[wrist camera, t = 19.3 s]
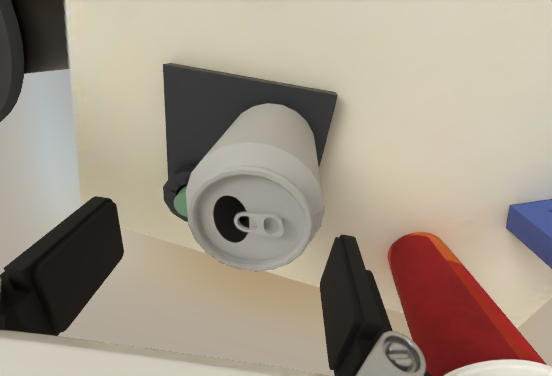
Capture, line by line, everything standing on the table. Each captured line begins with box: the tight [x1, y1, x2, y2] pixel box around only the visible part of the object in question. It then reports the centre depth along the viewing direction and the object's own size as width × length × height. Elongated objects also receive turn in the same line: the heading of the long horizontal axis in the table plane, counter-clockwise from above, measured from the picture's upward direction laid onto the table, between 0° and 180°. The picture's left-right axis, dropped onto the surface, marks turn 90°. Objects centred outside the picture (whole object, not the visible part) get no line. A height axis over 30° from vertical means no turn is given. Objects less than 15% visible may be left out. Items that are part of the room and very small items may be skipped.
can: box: [186, 103, 324, 271], centre depth 18 cm, size 8×8×12 cm
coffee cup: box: [388, 232, 552, 376], centre depth 23 cm, size 8×8×15 cm
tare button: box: [174, 186, 188, 217], centre depth 25 cm, size 3×3×2 cm
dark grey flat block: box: [163, 63, 337, 222], centre depth 24 cm, size 14×14×3 cm
